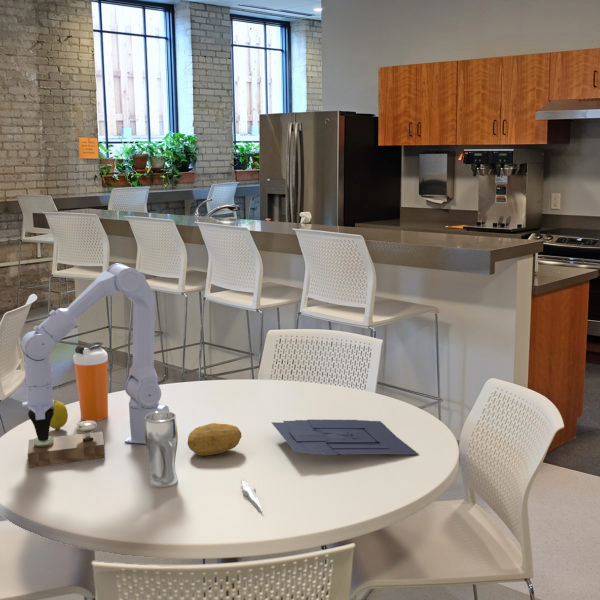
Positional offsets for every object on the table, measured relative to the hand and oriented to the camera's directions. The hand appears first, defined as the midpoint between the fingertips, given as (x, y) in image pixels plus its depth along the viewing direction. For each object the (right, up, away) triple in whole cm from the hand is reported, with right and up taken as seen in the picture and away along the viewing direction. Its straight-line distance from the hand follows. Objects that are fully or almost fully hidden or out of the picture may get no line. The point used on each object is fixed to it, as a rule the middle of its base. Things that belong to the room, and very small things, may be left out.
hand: (43, 439), depth 189 cm
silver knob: (+10, -1, +3) cm, 10 cm away
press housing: (+5, -4, +2) cm, 7 cm away
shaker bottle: (+4, +1, +29) cm, 30 cm away
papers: (+70, -3, +7) cm, 70 cm away
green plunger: (0, -4, +1) cm, 4 cm away
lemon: (-3, -1, +20) cm, 20 cm away
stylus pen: (+50, -9, -22) cm, 55 cm away
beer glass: (+30, -7, -13) cm, 34 cm away
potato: (+40, -4, +3) cm, 40 cm away
